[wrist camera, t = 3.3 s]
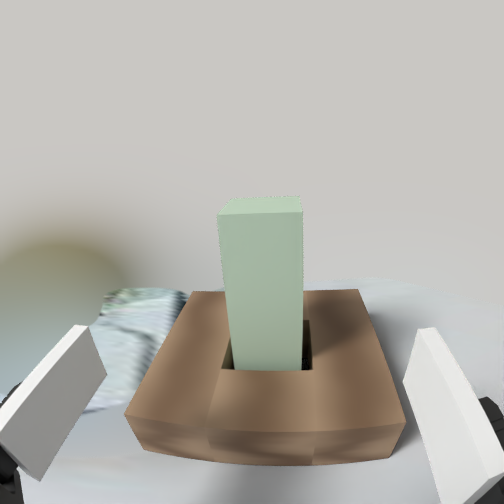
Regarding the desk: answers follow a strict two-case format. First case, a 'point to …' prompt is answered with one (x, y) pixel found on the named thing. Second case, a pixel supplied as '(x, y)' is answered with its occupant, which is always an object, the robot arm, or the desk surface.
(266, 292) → the sage block
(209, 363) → the pocket dock
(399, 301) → the desk surface
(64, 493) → the desk surface
